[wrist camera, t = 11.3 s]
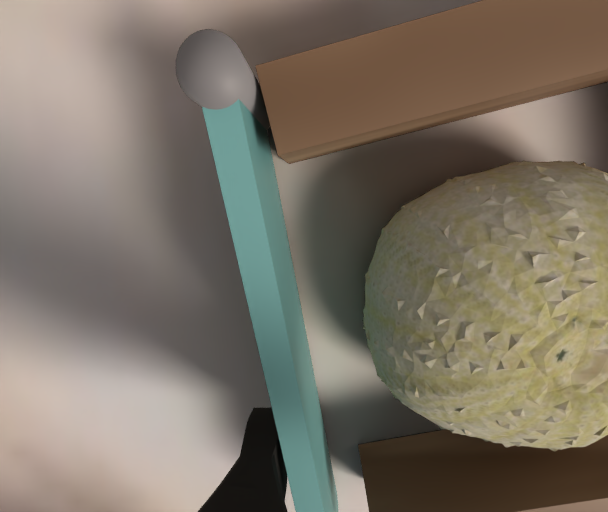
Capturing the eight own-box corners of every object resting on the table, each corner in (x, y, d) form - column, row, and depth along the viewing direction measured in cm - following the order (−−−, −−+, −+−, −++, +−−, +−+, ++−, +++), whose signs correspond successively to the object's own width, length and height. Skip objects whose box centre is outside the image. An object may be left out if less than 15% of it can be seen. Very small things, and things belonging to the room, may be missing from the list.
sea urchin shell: (533, 485, 12) (512, 632, 5) (381, 332, 16) (281, 320, 10) (749, 295, 10) (1088, 194, 4) (505, 185, 14) (471, 64, 8)
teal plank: (226, 95, 10) (167, 37, 6) (268, 87, 10) (236, 21, 6) (312, 497, 14) (311, 629, 10) (343, 494, 14) (356, 625, 10)
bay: (706, 425, 13) (849, 514, 9) (367, 481, 14) (384, 578, 11) (727, -22, 9) (966, -140, 6) (274, 103, 10) (255, 65, 7)
